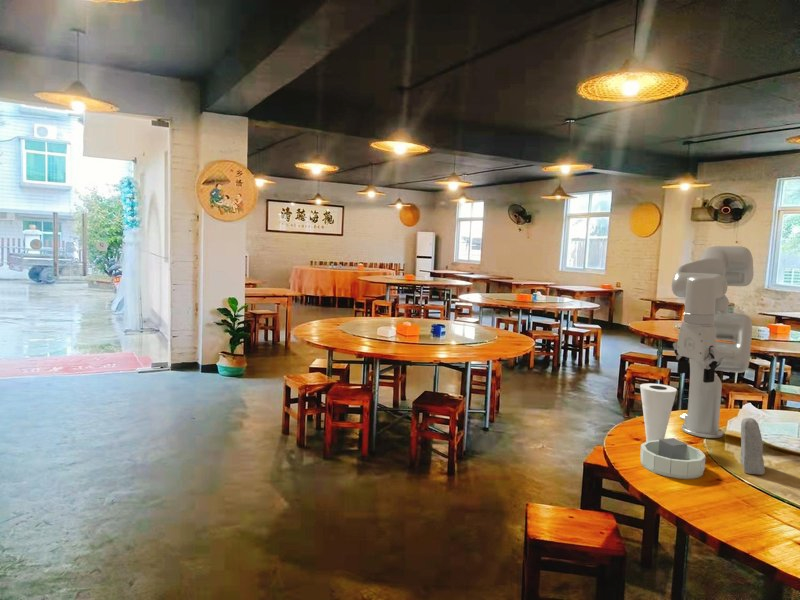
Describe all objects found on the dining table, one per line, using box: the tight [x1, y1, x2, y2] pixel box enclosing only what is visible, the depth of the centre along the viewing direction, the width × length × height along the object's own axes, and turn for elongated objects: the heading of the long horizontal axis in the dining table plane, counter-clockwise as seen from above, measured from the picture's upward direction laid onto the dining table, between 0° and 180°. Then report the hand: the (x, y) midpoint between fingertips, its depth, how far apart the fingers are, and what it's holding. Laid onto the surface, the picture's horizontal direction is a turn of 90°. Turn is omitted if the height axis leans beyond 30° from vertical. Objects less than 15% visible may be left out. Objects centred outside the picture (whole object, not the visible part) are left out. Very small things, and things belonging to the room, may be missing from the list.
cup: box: [639, 382, 678, 442], centre depth 174 cm, size 11×11×18 cm
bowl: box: [639, 440, 706, 480], centre depth 155 cm, size 16×16×5 cm
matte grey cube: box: [658, 437, 688, 460], centre depth 155 cm, size 5×5×6 cm
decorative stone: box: [740, 417, 766, 476], centre depth 155 cm, size 11×6×15 cm, turn 156°
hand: (695, 377), depth 157 cm, fingers open, 9 cm apart
